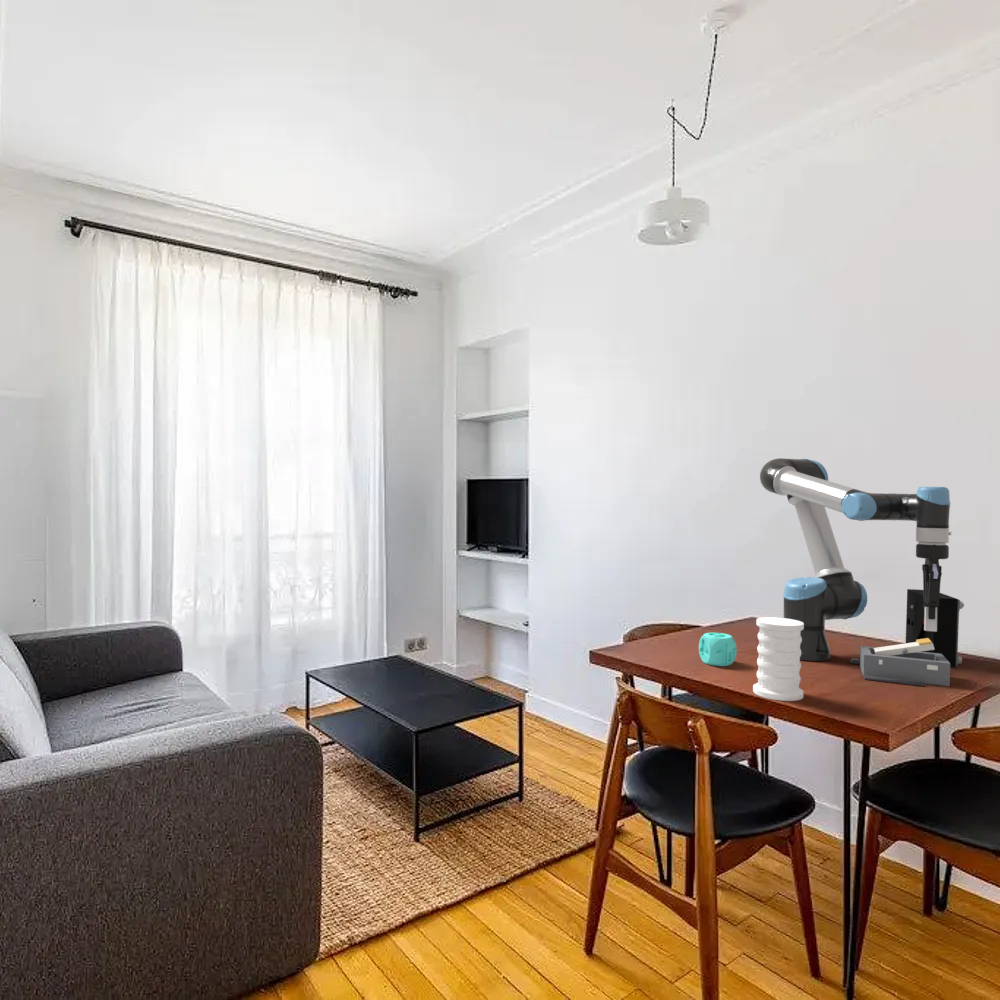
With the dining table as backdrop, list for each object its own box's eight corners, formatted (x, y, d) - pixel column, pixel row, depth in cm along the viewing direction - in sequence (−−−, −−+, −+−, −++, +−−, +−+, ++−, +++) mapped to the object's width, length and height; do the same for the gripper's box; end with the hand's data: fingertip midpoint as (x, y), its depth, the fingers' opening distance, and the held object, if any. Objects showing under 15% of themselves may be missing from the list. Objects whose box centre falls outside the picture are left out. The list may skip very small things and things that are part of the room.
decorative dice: (710, 666, 196) (711, 638, 196) (698, 659, 204) (698, 632, 204) (736, 666, 197) (737, 638, 197) (723, 659, 205) (724, 632, 205)
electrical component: (964, 668, 200) (966, 599, 199) (925, 665, 202) (927, 597, 201) (938, 654, 217) (940, 590, 217) (902, 651, 219) (904, 589, 219)
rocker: (877, 658, 189) (875, 650, 190) (874, 653, 195) (872, 645, 195) (935, 650, 184) (932, 641, 184) (930, 645, 190) (928, 637, 190)
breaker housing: (863, 676, 188) (864, 654, 188) (859, 666, 199) (860, 645, 199) (949, 686, 180) (950, 663, 180) (940, 675, 191) (941, 653, 191)
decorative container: (767, 684, 179) (769, 615, 179) (811, 695, 170) (814, 622, 170) (744, 692, 171) (746, 620, 171) (789, 704, 163) (791, 628, 162)
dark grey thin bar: (864, 679, 185) (864, 676, 185) (864, 678, 186) (864, 675, 186) (925, 686, 180) (925, 683, 180) (924, 685, 180) (924, 682, 180)
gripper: (953, 545, 179) (951, 636, 179) (943, 542, 191) (942, 627, 191) (920, 544, 182) (918, 633, 182) (912, 541, 194) (910, 625, 194)
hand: (930, 630), depth 187 cm, fingers closed
